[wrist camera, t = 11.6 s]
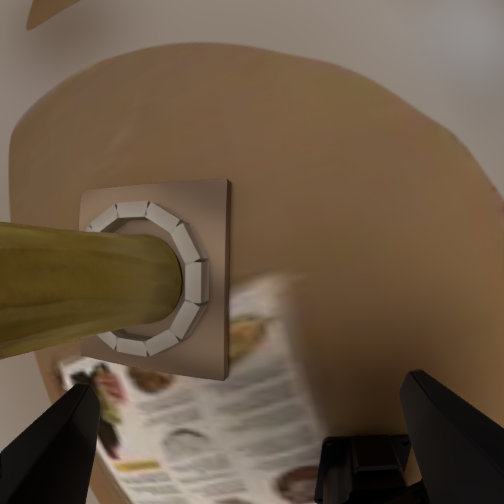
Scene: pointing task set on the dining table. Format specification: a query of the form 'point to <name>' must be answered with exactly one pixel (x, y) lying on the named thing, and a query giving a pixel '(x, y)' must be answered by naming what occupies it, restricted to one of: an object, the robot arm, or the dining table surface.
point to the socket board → (191, 266)
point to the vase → (79, 284)
